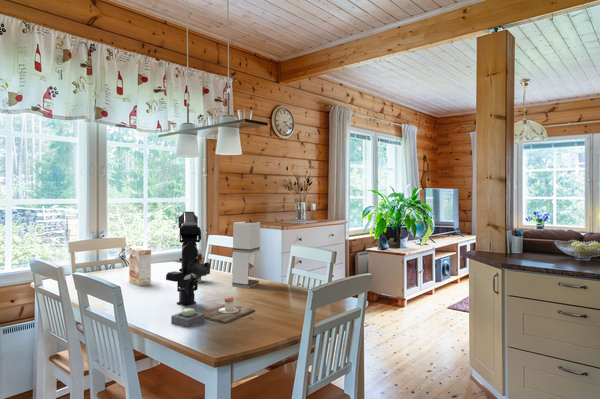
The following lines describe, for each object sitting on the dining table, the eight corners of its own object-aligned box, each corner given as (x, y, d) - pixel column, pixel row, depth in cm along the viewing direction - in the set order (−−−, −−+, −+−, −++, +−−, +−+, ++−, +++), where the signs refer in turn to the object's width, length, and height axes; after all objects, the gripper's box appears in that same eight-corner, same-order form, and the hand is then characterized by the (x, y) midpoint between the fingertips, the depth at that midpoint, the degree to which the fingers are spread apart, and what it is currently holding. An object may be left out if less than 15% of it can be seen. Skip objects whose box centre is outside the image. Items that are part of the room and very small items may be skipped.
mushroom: (222, 310, 174) (222, 297, 174) (228, 308, 178) (228, 295, 178) (229, 311, 172) (229, 299, 172) (235, 309, 176) (235, 297, 176)
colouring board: (195, 316, 169) (195, 314, 169) (226, 305, 186) (226, 303, 186) (225, 323, 161) (225, 320, 161) (254, 311, 178) (254, 308, 178)
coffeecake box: (128, 281, 230) (128, 246, 230) (141, 279, 235) (141, 245, 235) (138, 286, 219) (138, 250, 219) (151, 284, 224) (151, 249, 223)
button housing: (171, 323, 159) (171, 315, 159) (188, 317, 167) (188, 310, 167) (188, 327, 155) (188, 319, 155) (204, 321, 163) (204, 313, 163)
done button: (178, 315, 160) (178, 310, 160) (188, 312, 164) (188, 307, 164) (188, 317, 158) (188, 312, 158) (197, 314, 162) (197, 309, 162)
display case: (249, 288, 219) (250, 223, 219) (232, 286, 223) (233, 222, 223) (258, 284, 230) (260, 222, 229) (242, 282, 234) (243, 221, 233)
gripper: (186, 261, 148) (186, 303, 149) (220, 254, 165) (219, 293, 165) (165, 258, 154) (164, 299, 154) (200, 252, 170) (199, 289, 170)
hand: (188, 294), depth 161 cm, fingers closed
